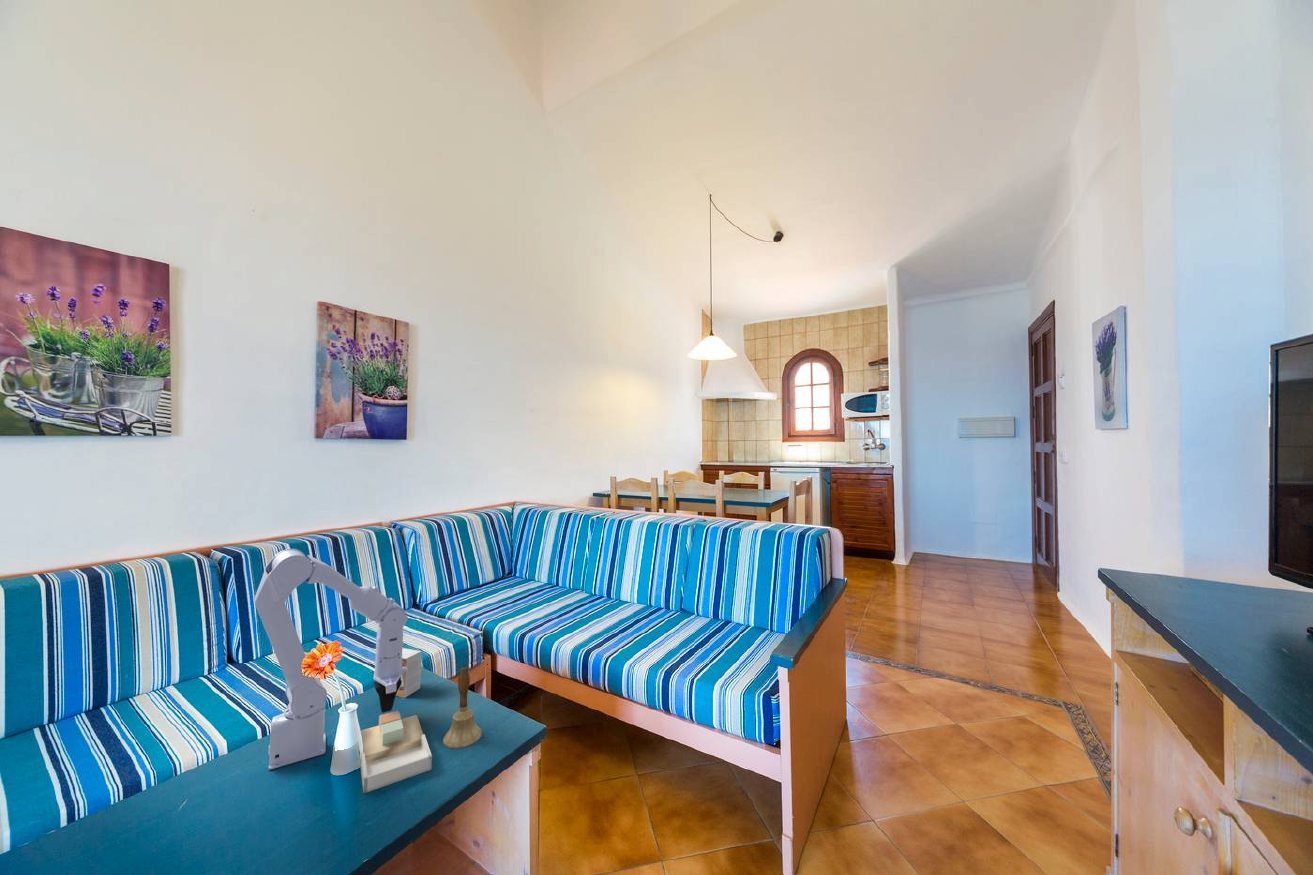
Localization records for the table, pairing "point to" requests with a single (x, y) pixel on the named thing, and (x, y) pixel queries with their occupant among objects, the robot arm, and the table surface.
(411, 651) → the small box
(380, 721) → the terracotta tile
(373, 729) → the beech board
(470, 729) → the hand bell
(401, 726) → the sage tile
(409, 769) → the tray
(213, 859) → the table surface
